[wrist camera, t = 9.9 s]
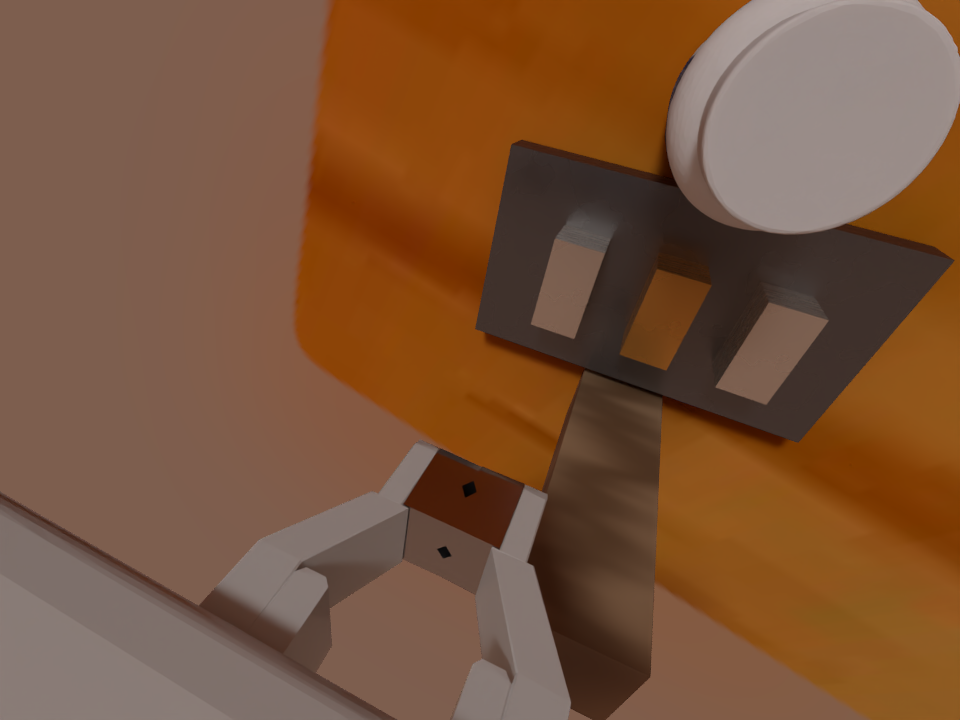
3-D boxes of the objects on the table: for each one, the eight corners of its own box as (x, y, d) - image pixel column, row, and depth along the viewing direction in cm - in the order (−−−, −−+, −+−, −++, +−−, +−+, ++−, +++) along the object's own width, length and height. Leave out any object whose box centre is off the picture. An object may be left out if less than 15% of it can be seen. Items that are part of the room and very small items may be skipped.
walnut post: (663, 386, 23) (649, 676, 12) (633, 439, 25) (601, 723, 14) (587, 360, 24) (510, 610, 13) (566, 414, 26) (485, 665, 15)
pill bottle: (731, 212, 18) (771, 316, 10) (637, 115, 17) (606, 148, 10) (882, 89, 15) (1109, 108, 7) (773, -35, 14) (889, -165, 6)
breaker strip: (934, 246, 16) (987, 282, 13) (791, 422, 22) (808, 473, 19) (521, 139, 19) (495, 151, 17) (485, 316, 25) (460, 347, 22)
